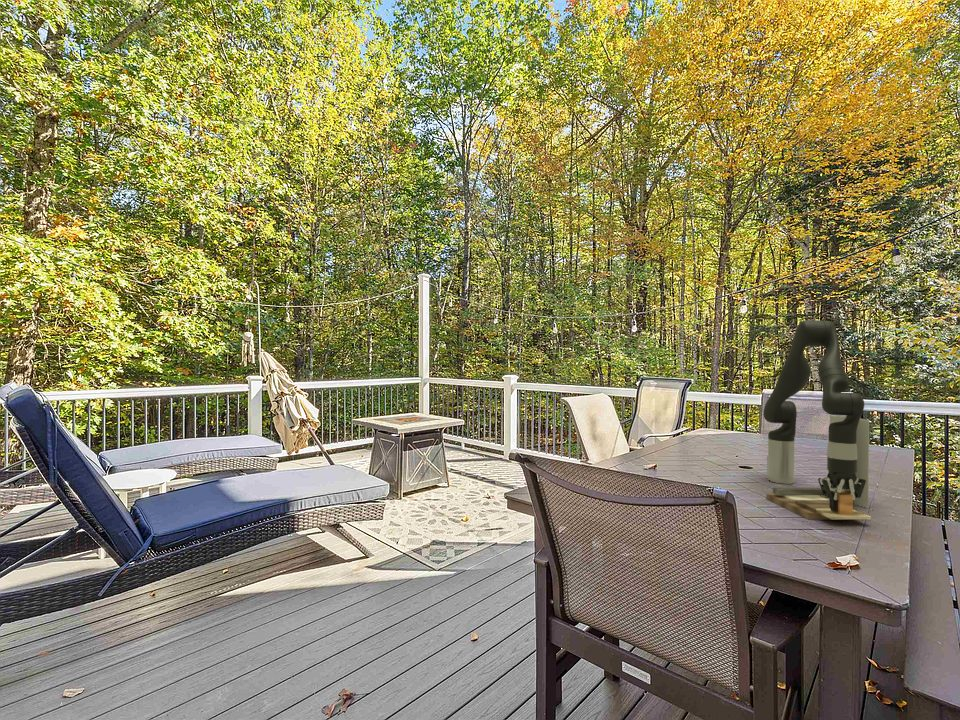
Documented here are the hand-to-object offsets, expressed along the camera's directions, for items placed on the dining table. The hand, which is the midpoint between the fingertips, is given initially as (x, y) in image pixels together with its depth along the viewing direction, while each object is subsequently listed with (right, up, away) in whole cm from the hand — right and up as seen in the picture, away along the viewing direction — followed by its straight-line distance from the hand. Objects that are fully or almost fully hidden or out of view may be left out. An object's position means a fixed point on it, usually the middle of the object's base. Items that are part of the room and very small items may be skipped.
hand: (841, 510), depth 151 cm
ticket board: (0, -3, +13) cm, 14 cm away
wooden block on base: (0, -1, 0) cm, 1 cm away
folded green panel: (+18, -3, +20) cm, 27 cm away
